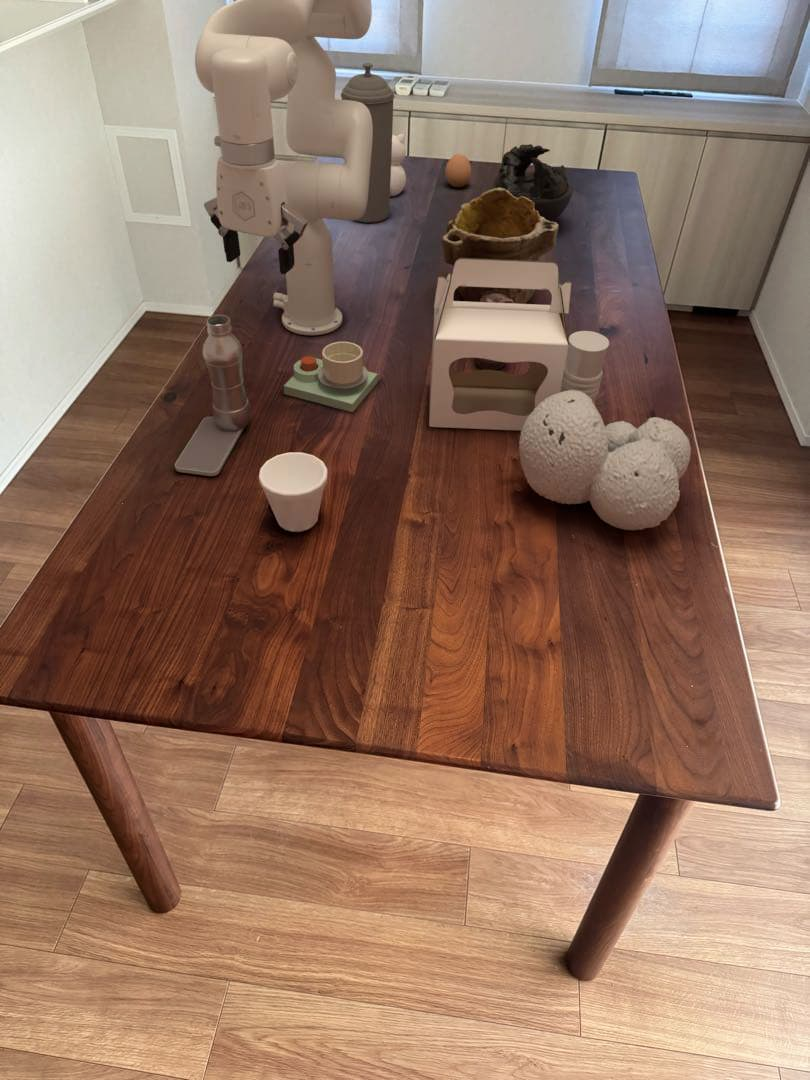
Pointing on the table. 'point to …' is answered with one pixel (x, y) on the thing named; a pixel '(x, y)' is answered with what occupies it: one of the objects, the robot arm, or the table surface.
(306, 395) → the scale
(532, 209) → the ceramic vessel
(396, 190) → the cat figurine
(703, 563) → the table surface
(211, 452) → the smartphone
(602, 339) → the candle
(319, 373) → the scale plate
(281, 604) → the table surface
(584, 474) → the grey lumpy cluster
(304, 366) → the button
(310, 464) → the cup
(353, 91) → the canister
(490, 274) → the cardboard gift box
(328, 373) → the bowl
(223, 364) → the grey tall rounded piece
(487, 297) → the can
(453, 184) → the egg
